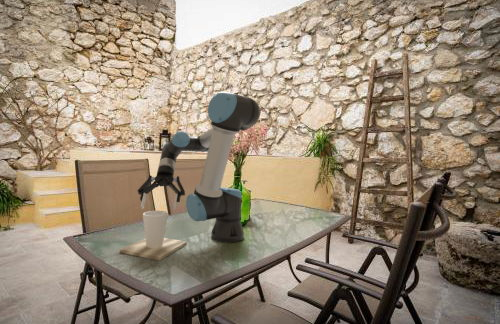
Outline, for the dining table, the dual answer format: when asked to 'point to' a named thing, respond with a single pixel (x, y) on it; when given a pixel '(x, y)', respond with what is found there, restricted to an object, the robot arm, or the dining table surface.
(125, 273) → the dining table surface
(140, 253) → the ash board
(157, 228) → the foam cup
